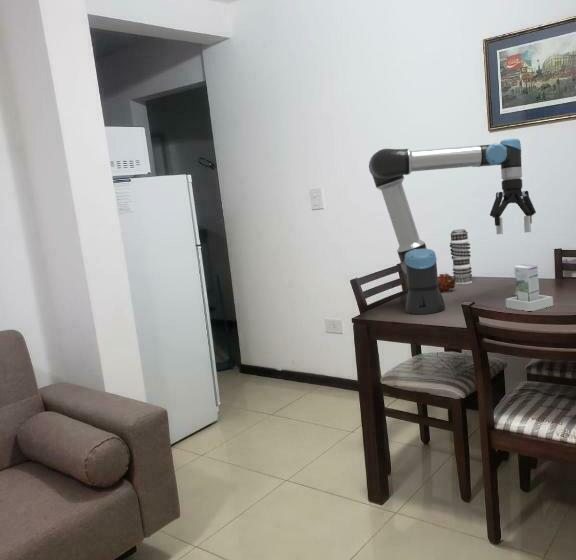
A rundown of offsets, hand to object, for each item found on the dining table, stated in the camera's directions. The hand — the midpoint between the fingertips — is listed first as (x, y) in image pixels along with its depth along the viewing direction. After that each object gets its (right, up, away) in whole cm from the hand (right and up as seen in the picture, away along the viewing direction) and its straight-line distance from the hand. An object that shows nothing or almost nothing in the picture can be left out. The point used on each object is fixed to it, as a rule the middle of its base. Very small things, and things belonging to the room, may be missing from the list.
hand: (513, 233), depth 221 cm
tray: (-2, -28, -19) cm, 34 cm away
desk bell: (+3, -25, -4) cm, 26 cm away
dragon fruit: (-20, -24, +29) cm, 42 cm away
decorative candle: (-7, -20, +41) cm, 46 cm away
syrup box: (-2, -28, -19) cm, 34 cm away
